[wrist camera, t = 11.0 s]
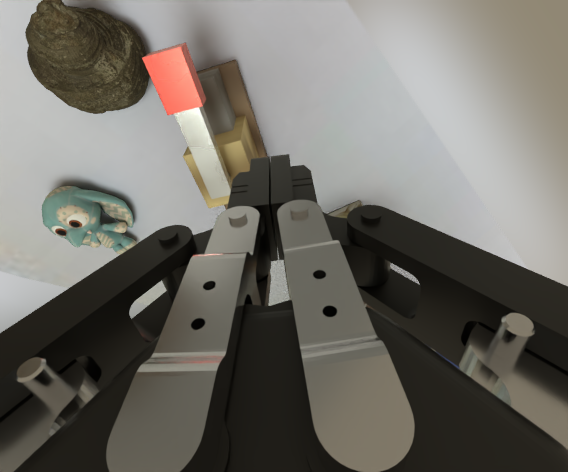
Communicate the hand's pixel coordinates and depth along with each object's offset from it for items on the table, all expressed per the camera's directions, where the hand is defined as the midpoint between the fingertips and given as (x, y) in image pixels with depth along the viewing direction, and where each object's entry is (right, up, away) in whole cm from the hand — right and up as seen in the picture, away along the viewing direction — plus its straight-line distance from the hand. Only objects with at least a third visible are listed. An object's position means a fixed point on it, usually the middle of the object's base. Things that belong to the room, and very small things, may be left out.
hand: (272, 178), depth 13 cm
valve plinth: (-6, +9, +25) cm, 27 cm away
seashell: (-18, +14, +21) cm, 31 cm away
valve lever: (-7, +7, +15) cm, 18 cm away
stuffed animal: (-24, +1, +31) cm, 40 cm away
